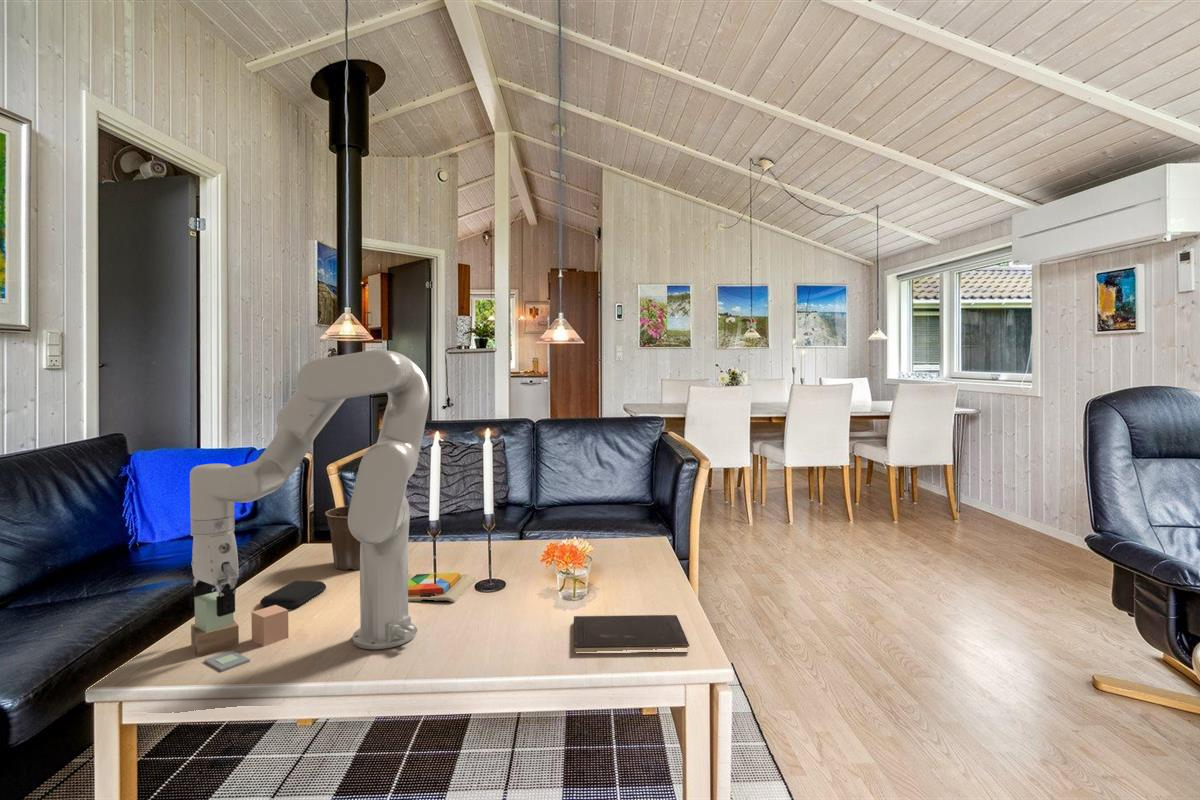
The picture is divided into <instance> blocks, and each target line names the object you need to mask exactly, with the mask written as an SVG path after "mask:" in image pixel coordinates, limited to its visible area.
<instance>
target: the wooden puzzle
mask: <svg viewBox="0 0 1200 800" xmlns="http://www.w3.org/2000/svg"><path fill="white" fill-rule="evenodd" d="M433 574H434V573H417V574H415V575H414V574H412V573H408V601H415V602H422V601H421V600H423V599H428V600H434V601H433V602H436V601H437V602H438V601H448V602H451V603H452V602H455V601H457V599H459V597H460V596H462V595H463V593H464V592H465V591H466V590H467V589H468V588H469V587H470V586H471V585H472V584H473V583H474V582H475V583H476V577H475V576H474V575H473V574H461V573H460V572H445V573H442V572H441V573H436V574H437V578H436V584H434V575H433ZM475 583H474V584H475ZM474 584H473V585H474ZM473 585H472V586H473ZM472 586H471V587H472ZM471 587H470V588H471ZM470 588H469V589H470ZM469 589H468V590H469ZM468 590H467V591H468ZM467 591H466V592H467ZM466 592H465V593H466ZM423 593H436V595H435V596H431V597H420V595H421V594H423ZM465 593H464V594H465ZM463 596H464V595H463ZM463 596H462V597H463ZM459 600H460V599H459ZM457 602H458V601H457ZM455 603H456V602H455Z"/></svg>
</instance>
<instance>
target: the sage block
mask: <svg viewBox="0 0 1200 800" xmlns="http://www.w3.org/2000/svg"><path fill="white" fill-rule="evenodd" d="M217 596H219V595H218V592H217V590H216V591H212V593H209V594H205V595H201V596H197V597H195V605H194V624H195V627H197V628H199V629H201V630H203V631H205V632H210V631H213V630H216V629H219V628H223V627H226V626H229V625H232V624H233V619H234V613H231V614H227V615H224V616H221V617H219V616H217V600H216V597H217Z"/></svg>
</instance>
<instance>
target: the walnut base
mask: <svg viewBox="0 0 1200 800" xmlns="http://www.w3.org/2000/svg"><path fill="white" fill-rule="evenodd" d="M239 628H240V627H239V624H238V623H237V622H236V621H235V620H234V618H233V624H232V625H229V626H226V627H223V628H219V629H216V630H213V631H210V632H205V631H203V630H201V629H199V628H197V627H195V623H192V624H191V625H190V644H191V645H190V646H191V647H192V649H193V651H194V652H195V654H196V656H197V657H198V658H199V657H202V656H206V655H210V654H213V653H219V652H222V651H227V650H230V649H233V648H236V647H237V648H238V647H240V643H239V642H240V641H239V638H240V637H239V636H240V635H239Z"/></svg>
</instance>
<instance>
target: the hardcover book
mask: <svg viewBox="0 0 1200 800" xmlns="http://www.w3.org/2000/svg"><path fill="white" fill-rule="evenodd" d="M689 647H690V644H689V641H688V638H687V636H686V634H685V631H684V629H683V627H682V625H681V622H680V620H679V618H678V616H677V614H657V615H656V614H644V615H642V614H641V615H630V614H629V615H574V616H573V649H574V653H575V652H597V651H623V650H626V651H627V650H653V649H655V650H657V649H672V648H674V649H675V648H688V649H689Z"/></svg>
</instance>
